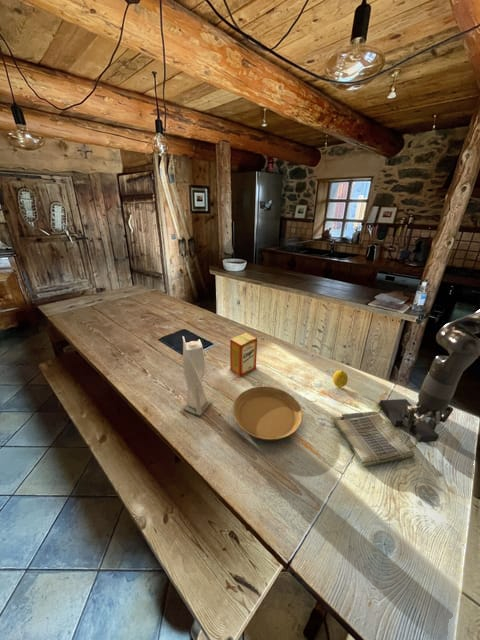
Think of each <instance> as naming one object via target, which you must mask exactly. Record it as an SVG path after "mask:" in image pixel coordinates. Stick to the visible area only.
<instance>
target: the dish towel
mask: <svg viewBox="0 0 480 640" xmlns="http://www.w3.org/2000/svg"><path fill="white" fill-rule="evenodd" d="M333 422H334V423H335V426H336V427H337V429H338V430H339V431H340V433H341V434H342V436H343V438H344V439H345V440H346V442H347V443H348V445H349V447H350V448H351V450H352V451H353V454H354V455H355V456H356V458H357V459H358V460H359V463H360V464H361V466H362V467H369V466H370V467H371V466H375V465H380V464H386V463H390V462H394V461H401V460H405V459H410V458H412V457H415V455H414V454H415V453H414V451H413V450H412V449H411V448H410V447H409V446H407V444H406V443H405V442H404V441H403V440H402V439H401V438H400V437H399V436H398V435H397V433H396V432H395V430H393V428H391V427H392V426H390V425H389V424H388V423H387V422H386V420H385V419H384V418H383V417H382V415H381V414H380V413H379V411H376V410H371V411H364V412H363V411H362V412H351V413H342V414H341V416H335V417H334V418H333Z"/></svg>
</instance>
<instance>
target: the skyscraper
mask: <svg viewBox="0 0 480 640" xmlns="http://www.w3.org/2000/svg"><path fill="white" fill-rule="evenodd" d="M182 369H183V376H184V380H185V382H186V385H187V394H186V396H187V397H186V406H185V407H184V408H183V410H184V411H186V412H187V413H188V412H189V413H191V414H194V415H196V416H198V417H201V416H202V415H203V414H204V413H205V411H206V410H207V409H208V407H209V406H210V405H211V404H212V403H211V402H210V401H208V400H207V397H206V396H207V395H206V393H205V389H204V386H203V379H204V376H205V370H206V358H205V352H204V348H203V344H202V341H201V339H200V338H199V339H197V340H191V341H189V342H188V341H187V342H186V339H185V336H182Z"/></svg>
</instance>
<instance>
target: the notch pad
mask: <svg viewBox="0 0 480 640" xmlns="http://www.w3.org/2000/svg"><path fill="white" fill-rule="evenodd" d="M407 404H409V405H410V406H413V405H412V404H411V403H410V401H408V399H407V398H399V399H380V401H379V404H378V406H379V407H380V409H381V410H382V412H384V414H385V416H386V417H387V419H389V421H390V422H391V423H392V425H393V426H394V427H403V425H404V424H403V419H402V417H401V415H402V412H403V411H405V408H406V405H407ZM418 415H419V416H421V415H420V414H419V413H418Z"/></svg>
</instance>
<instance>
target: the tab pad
mask: <svg viewBox="0 0 480 640" xmlns="http://www.w3.org/2000/svg"><path fill="white" fill-rule="evenodd" d="M404 413H405V411H403V412H402V415H401V417H402V419H403V425H404V427H405V428H406V427H407V424H408V422H407V421H406V420H405V419H404ZM420 417H421V416H420ZM414 420H416V417H415V418H414ZM410 434H411V435H412V436H413V438H414V439H415V440H416V441H417V443H435V442H438V440H439V437H440V435H439V434H438V433H437V432H436V431H435V430H433V429H432V427H431V426H430V425H429V424H428V421H426V420H425V419H424V420H423V421H420V422H419V423H418V424H417V426H416V428H415V430H414V432H413V433H410Z"/></svg>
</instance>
